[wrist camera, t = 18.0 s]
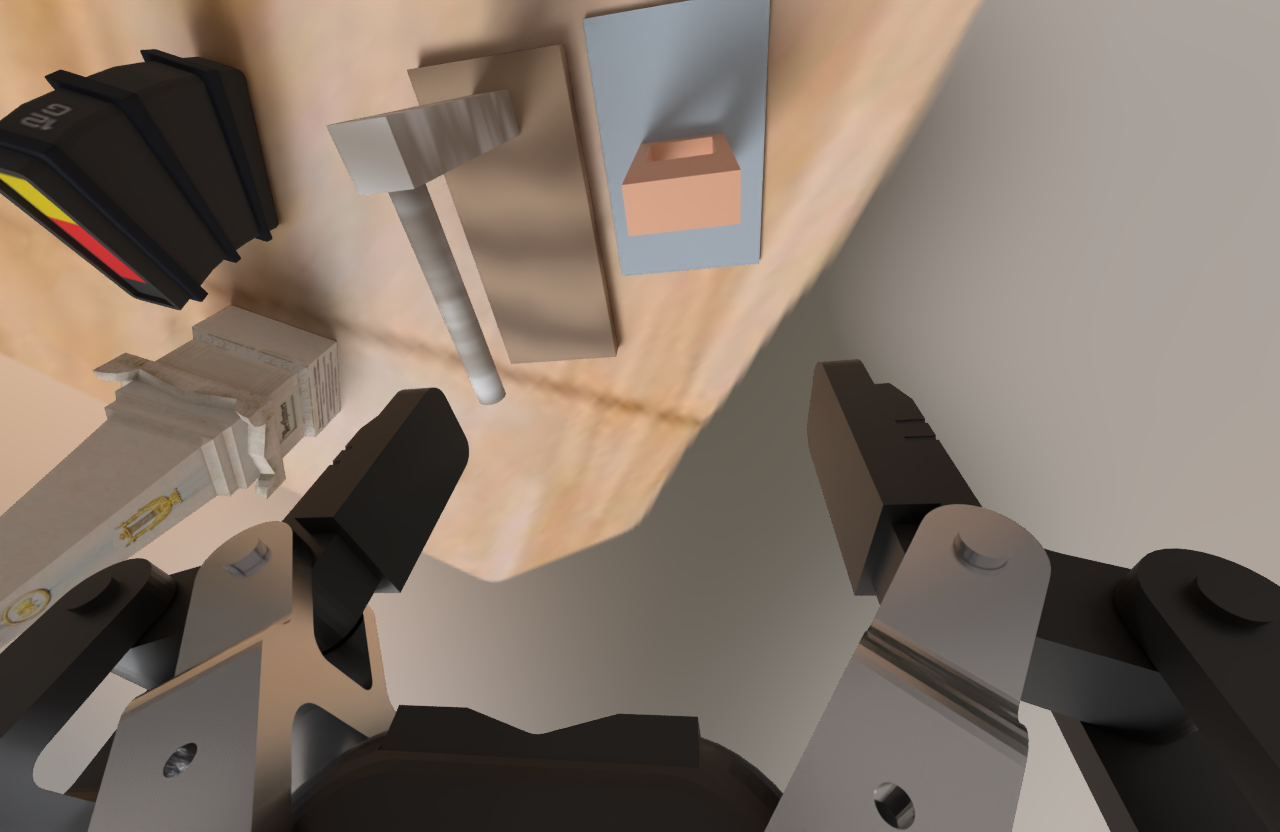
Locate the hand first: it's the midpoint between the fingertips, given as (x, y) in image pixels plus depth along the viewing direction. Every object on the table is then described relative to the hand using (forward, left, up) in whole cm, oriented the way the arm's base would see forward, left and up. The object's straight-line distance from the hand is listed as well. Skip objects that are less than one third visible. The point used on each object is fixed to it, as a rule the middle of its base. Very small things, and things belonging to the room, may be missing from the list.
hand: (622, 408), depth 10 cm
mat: (0, +1, -29) cm, 29 cm away
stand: (+4, -11, -29) cm, 31 cm away
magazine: (-3, -32, -29) cm, 43 cm away
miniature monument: (+14, -40, -29) cm, 51 cm away
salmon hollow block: (0, +1, -28) cm, 28 cm away
